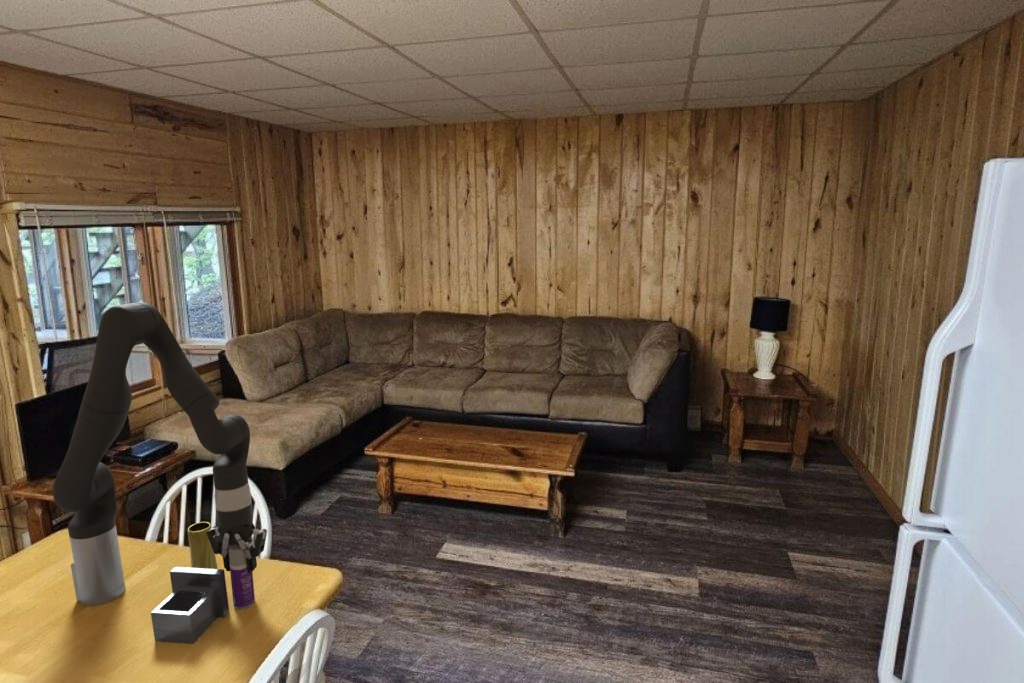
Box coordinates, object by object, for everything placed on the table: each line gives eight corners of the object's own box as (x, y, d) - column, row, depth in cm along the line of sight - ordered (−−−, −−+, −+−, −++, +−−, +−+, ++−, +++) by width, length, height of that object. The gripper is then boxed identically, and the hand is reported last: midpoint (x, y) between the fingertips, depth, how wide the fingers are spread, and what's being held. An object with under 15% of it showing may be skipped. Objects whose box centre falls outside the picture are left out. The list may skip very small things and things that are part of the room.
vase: (186, 582, 155) (179, 530, 152) (206, 569, 160) (200, 519, 158) (204, 587, 153) (198, 534, 150) (224, 574, 158) (218, 523, 155)
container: (247, 610, 143) (241, 551, 140) (229, 607, 144) (223, 549, 141) (259, 598, 148) (254, 541, 145) (241, 595, 149) (236, 539, 146)
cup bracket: (148, 640, 133) (141, 595, 131) (181, 609, 144) (175, 566, 142) (200, 644, 132) (193, 598, 130) (229, 612, 143) (224, 569, 140)
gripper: (194, 508, 138) (202, 577, 141) (254, 511, 136) (261, 581, 140) (214, 494, 145) (221, 559, 149) (271, 496, 143) (277, 563, 147)
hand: (241, 569), depth 144 cm, fingers closed on container, 4 cm apart
